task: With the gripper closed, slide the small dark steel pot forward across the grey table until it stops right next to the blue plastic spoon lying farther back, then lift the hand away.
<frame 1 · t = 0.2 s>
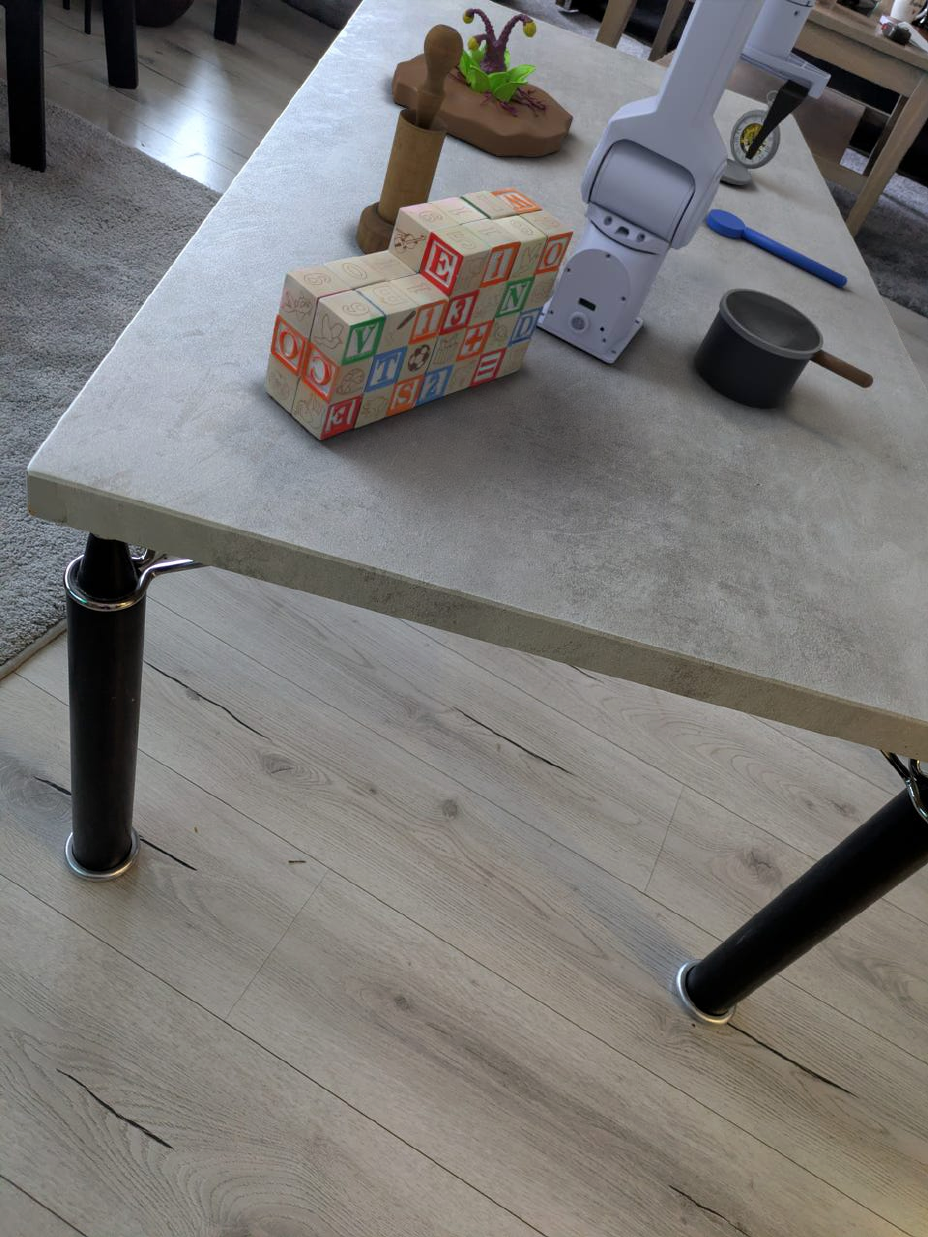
hand: (715, 139, 101), 10 cm above the table, tool pointing down, fingers open, 7 cm apart
pocket watch: (728, 175, 125), on the table
pot: (739, 376, 90), on the table
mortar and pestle: (391, 249, 87), on the table
stack of blocks: (400, 382, 74), on the table
plant: (480, 116, 114), on the table
spoon: (798, 265, 112), on the table
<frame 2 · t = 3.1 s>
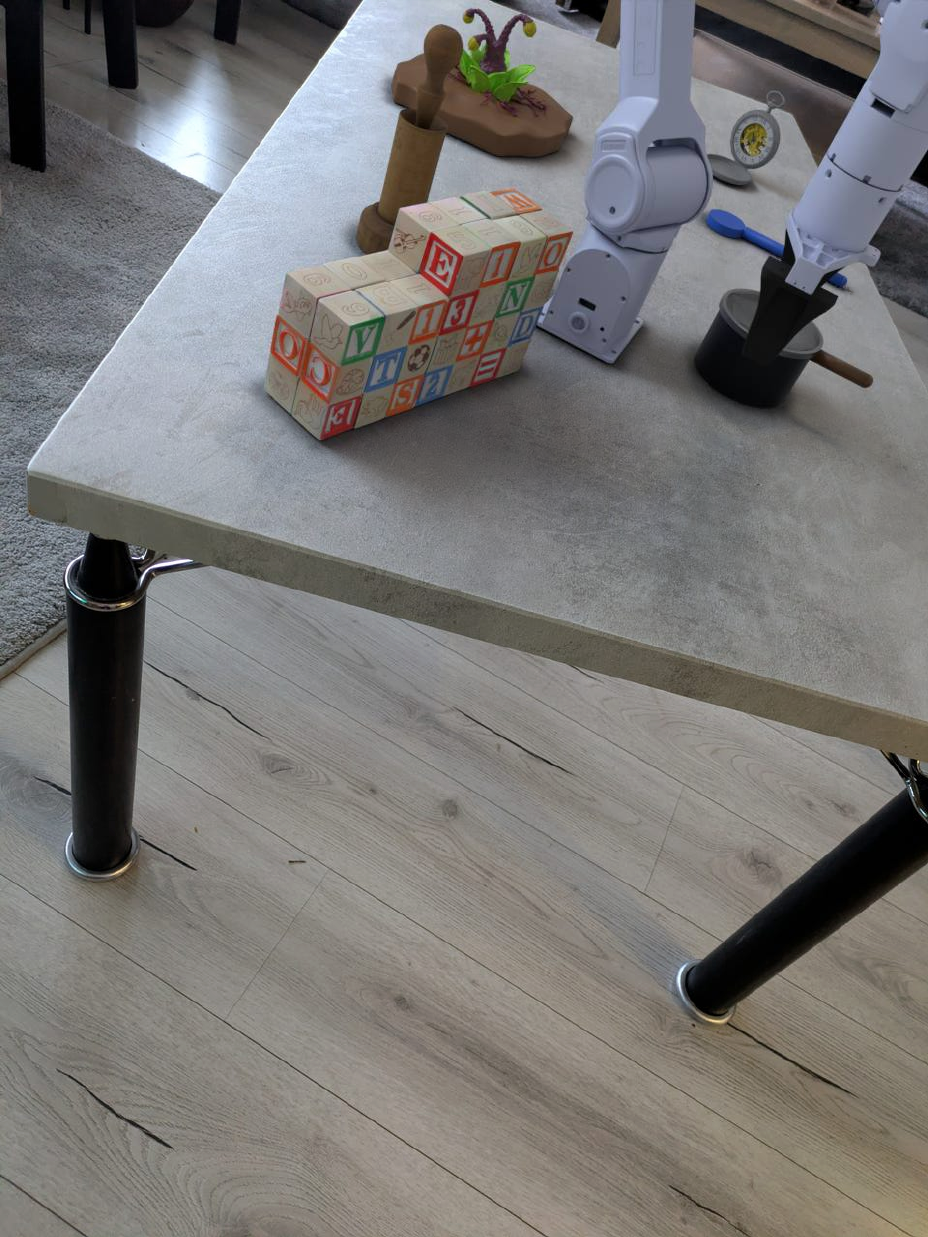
hand: (764, 339, 77), 8 cm above the table, tool pointing down, fingers open, 7 cm apart
nothing on the table moved.
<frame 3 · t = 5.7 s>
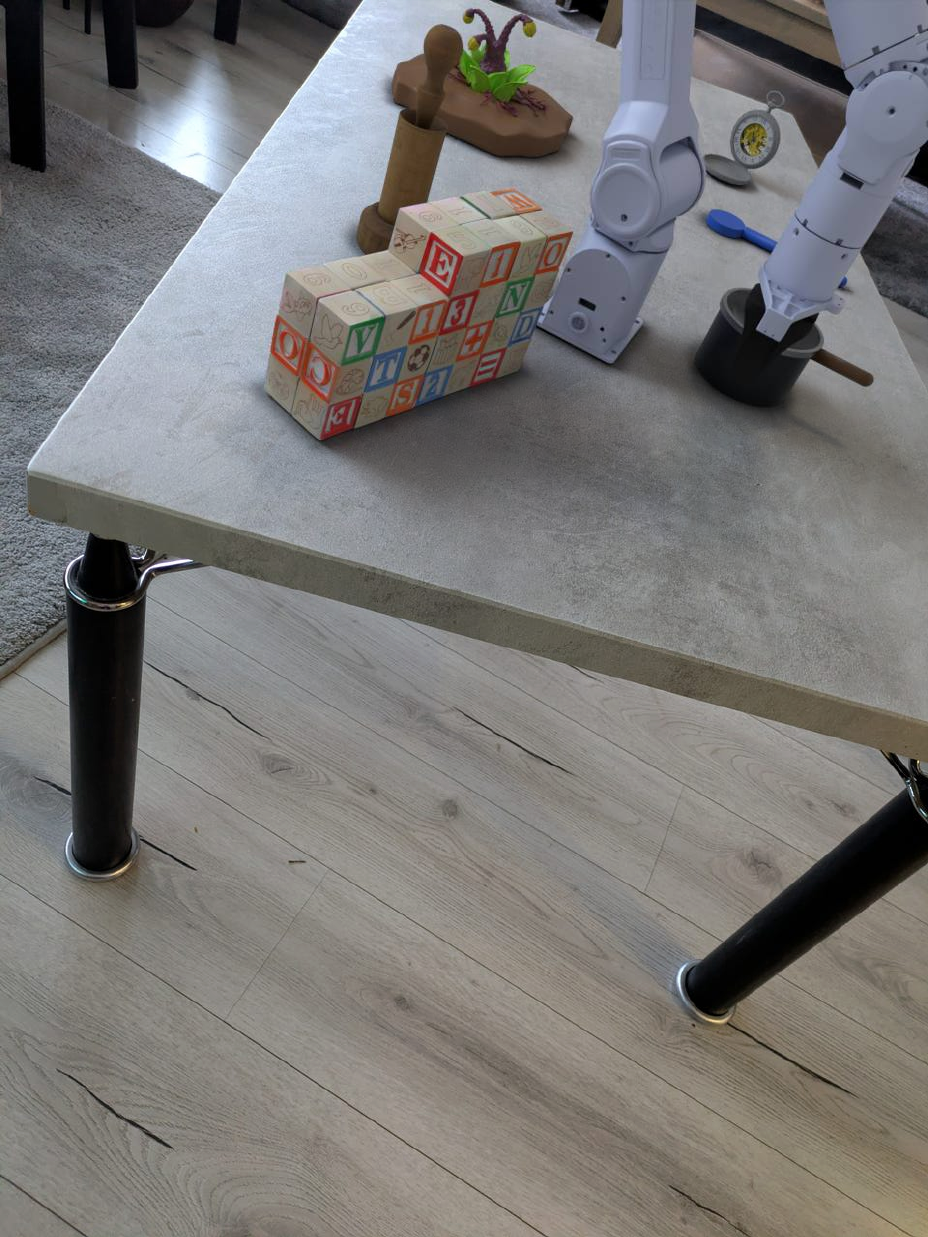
hand: (741, 377, 83), 3 cm above the table, tool pointing down, fingers closed
pot: (740, 375, 90), on the table, touching gripper
everything else where it was.
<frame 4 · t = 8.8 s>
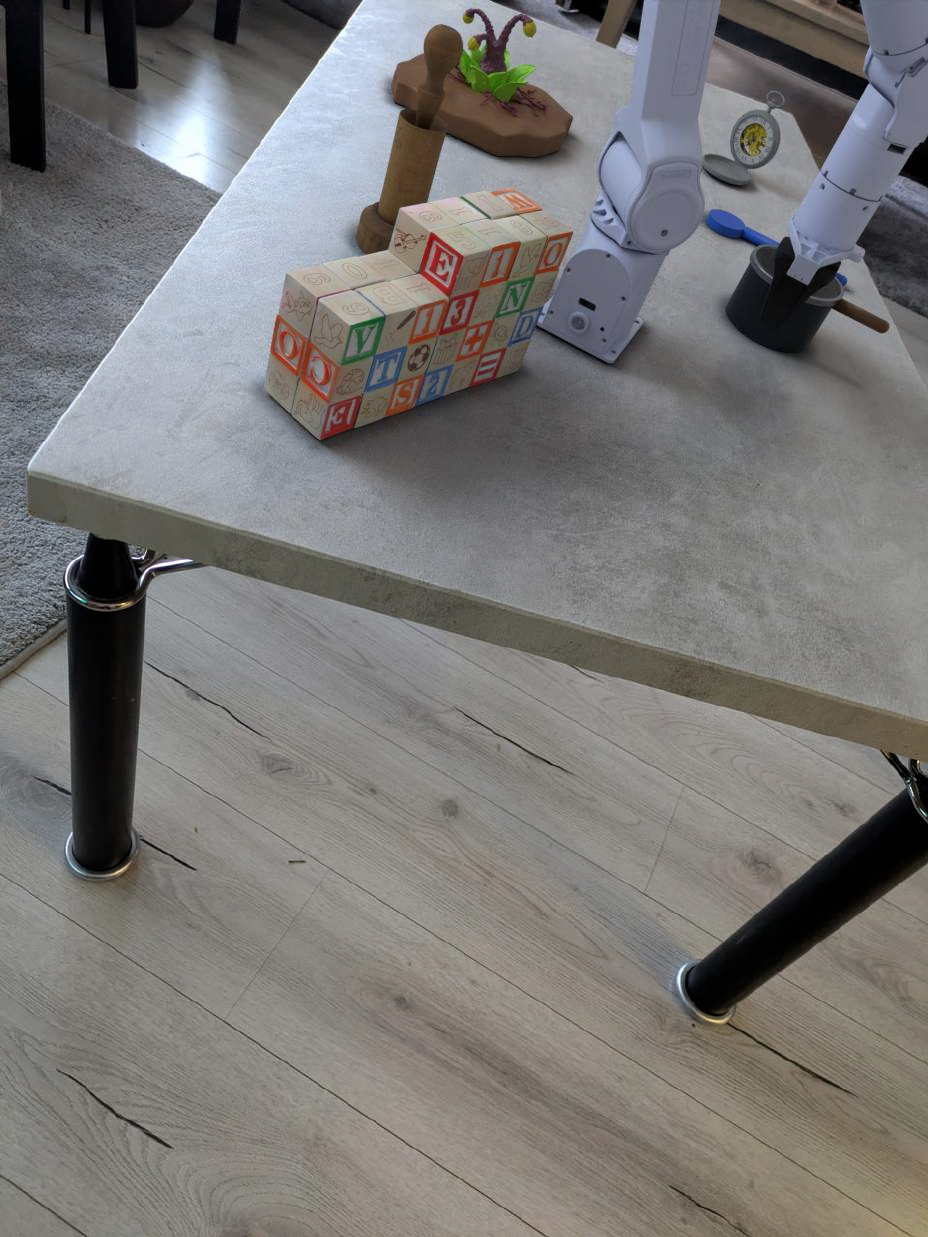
hand: (769, 323, 92), 3 cm above the table, tool pointing down, fingers closed
pot: (766, 325, 99), on the table, touching gripper
everything else where it was.
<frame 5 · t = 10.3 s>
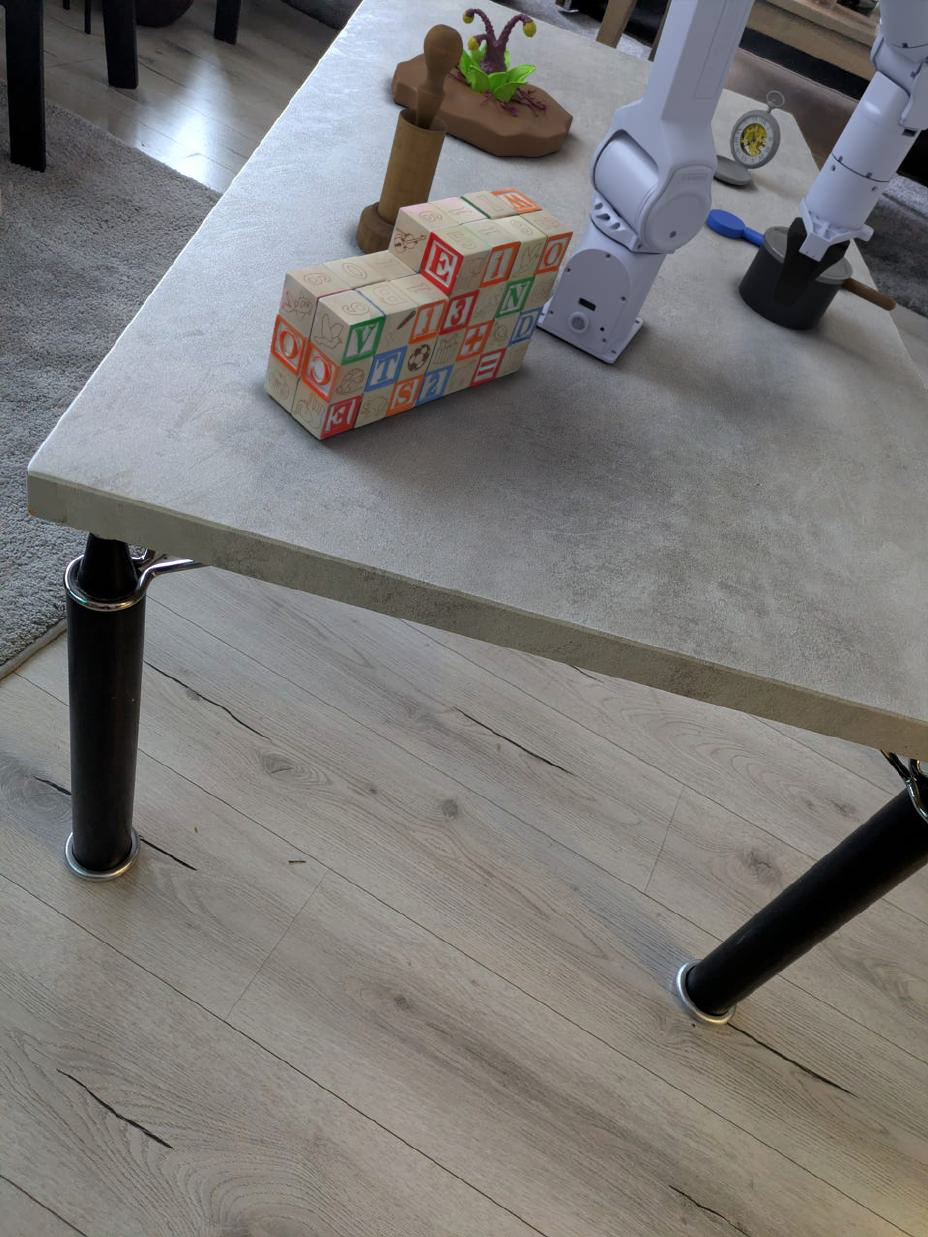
hand: (781, 300, 96), 3 cm above the table, tool pointing down, fingers closed
pot: (778, 304, 103), on the table, touching gripper
everything else where it was.
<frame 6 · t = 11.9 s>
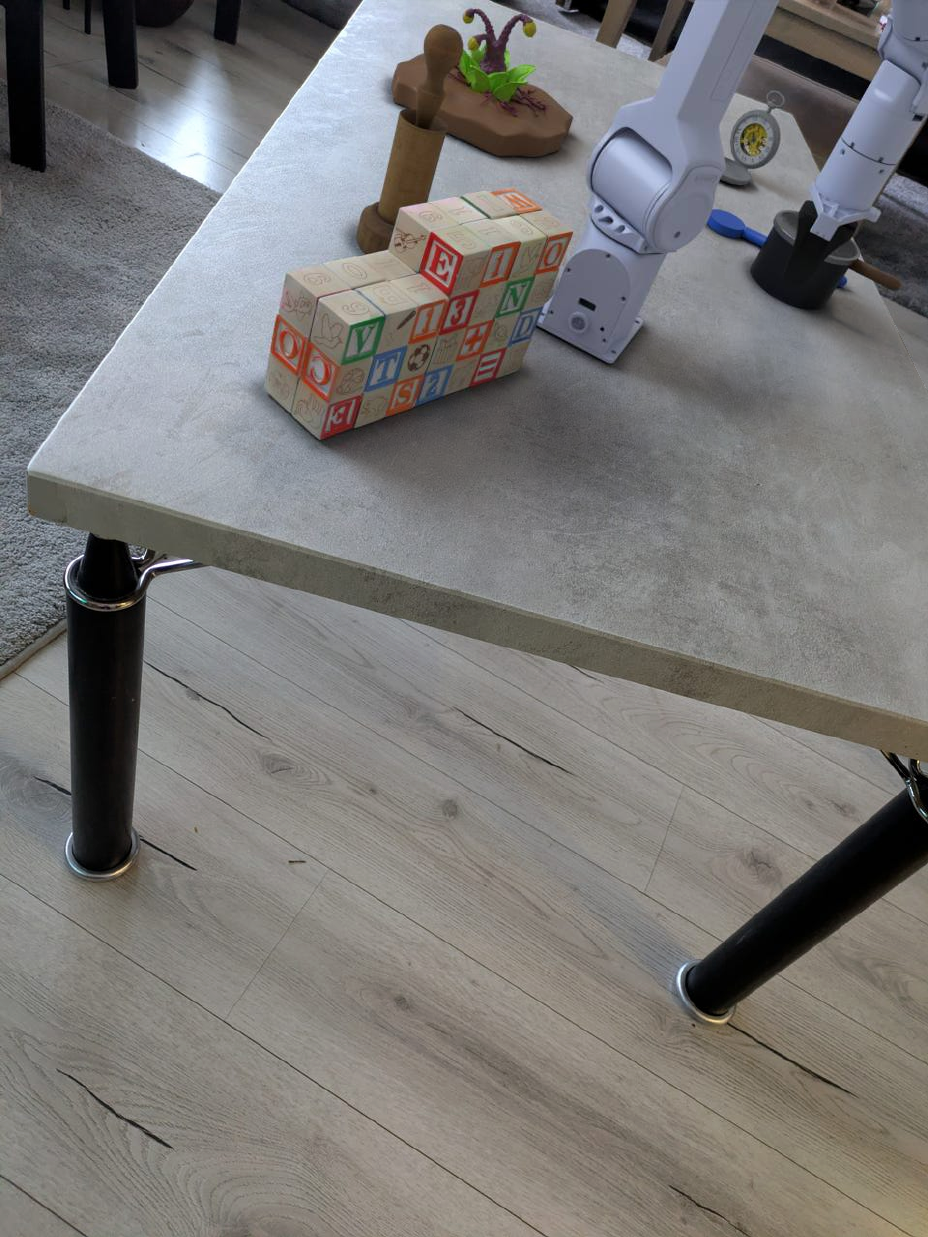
hand: (791, 280, 100), 3 cm above the table, tool pointing down, fingers closed
pot: (788, 285, 107), on the table, touching gripper
everything else where it was.
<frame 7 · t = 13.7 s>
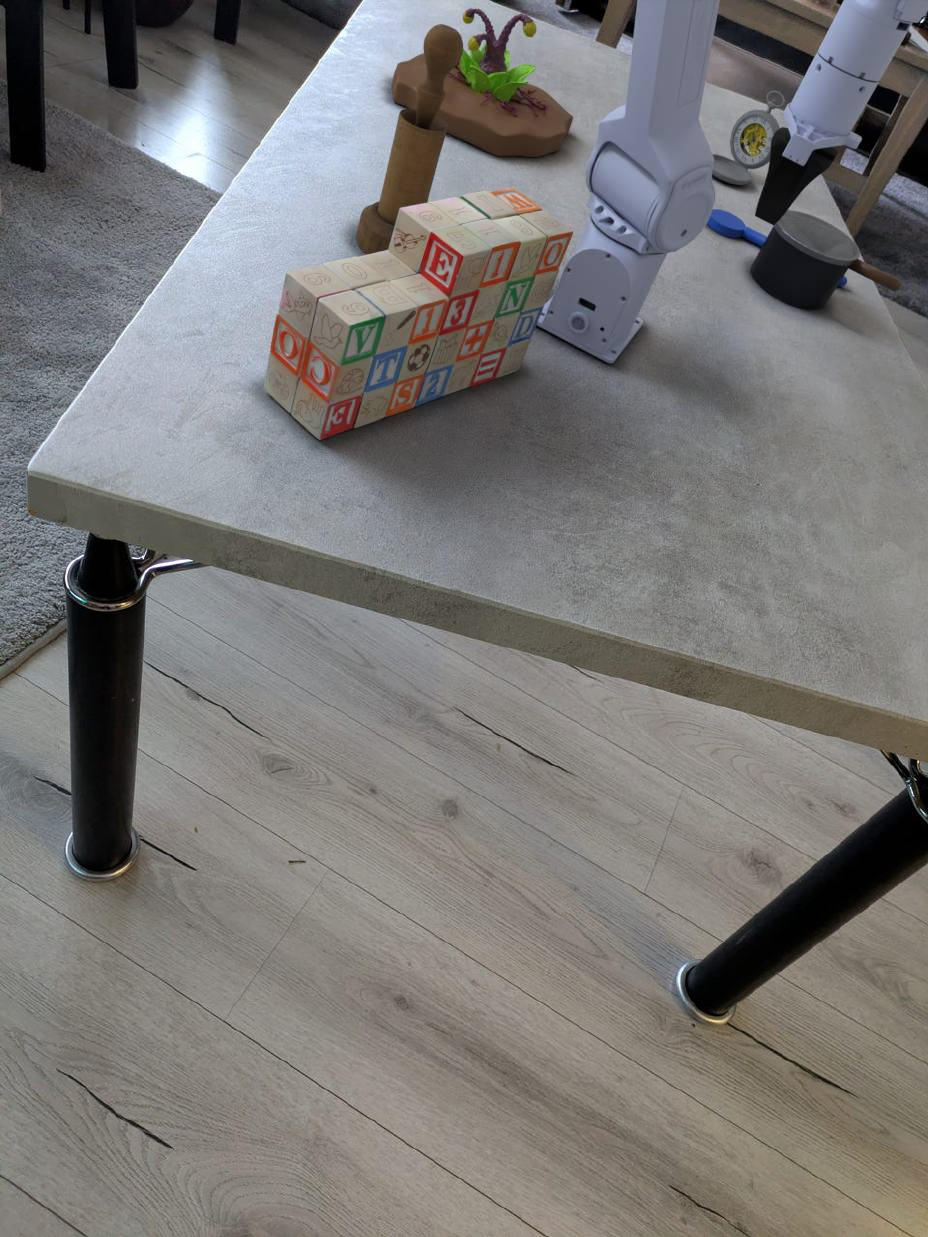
hand: (765, 218, 92), 9 cm above the table, tool pointing down, fingers closed
pot: (788, 285, 107), on the table
everything else where it was.
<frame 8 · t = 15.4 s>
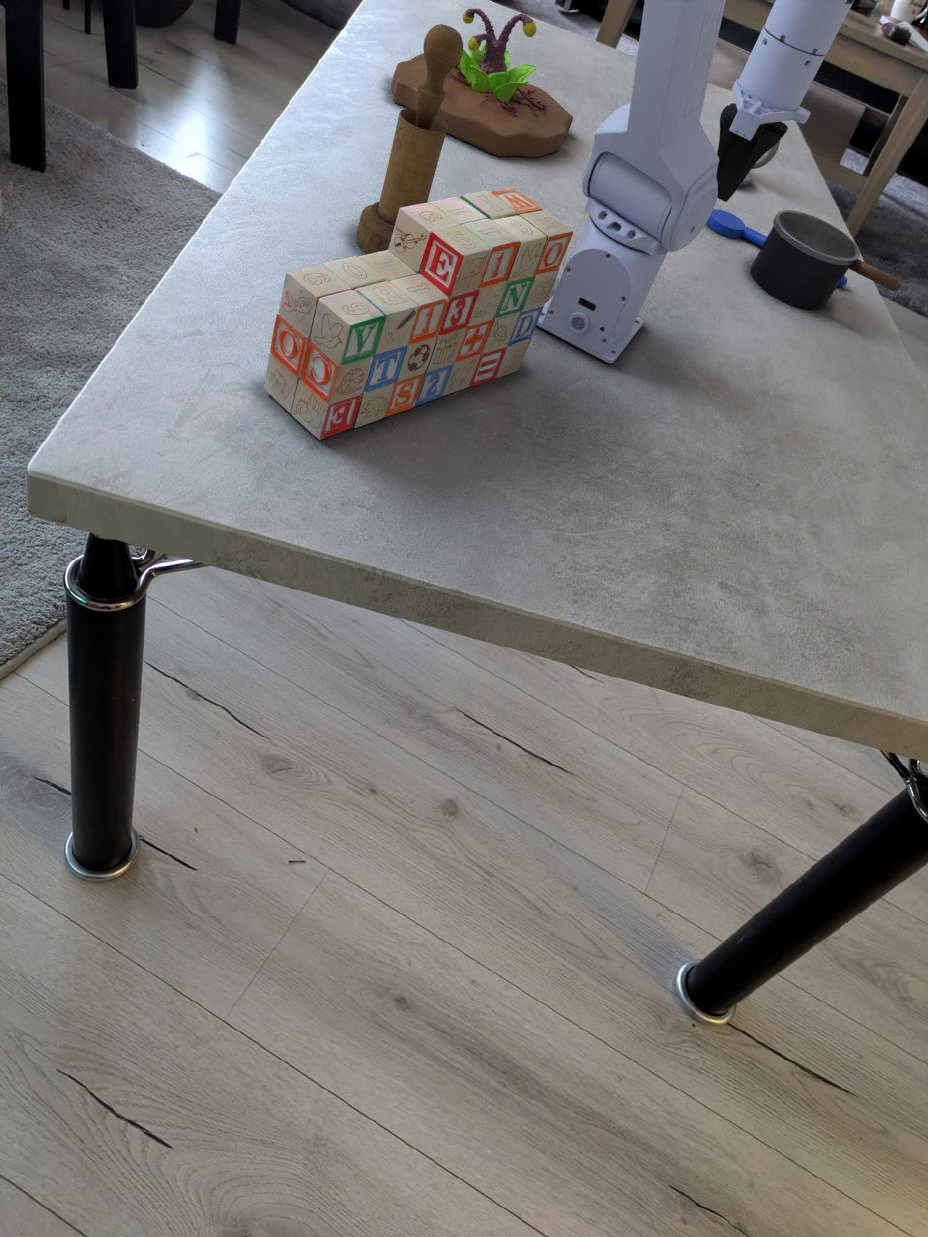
hand: (718, 195, 92), 9 cm above the table, tool pointing down, fingers closed
nothing on the table moved.
at the end: pot inside the target area on the table beside the spoon (1.8 cm from its centre), on the table; pot tilted 0°; pot moved 24.3 cm from its start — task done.
